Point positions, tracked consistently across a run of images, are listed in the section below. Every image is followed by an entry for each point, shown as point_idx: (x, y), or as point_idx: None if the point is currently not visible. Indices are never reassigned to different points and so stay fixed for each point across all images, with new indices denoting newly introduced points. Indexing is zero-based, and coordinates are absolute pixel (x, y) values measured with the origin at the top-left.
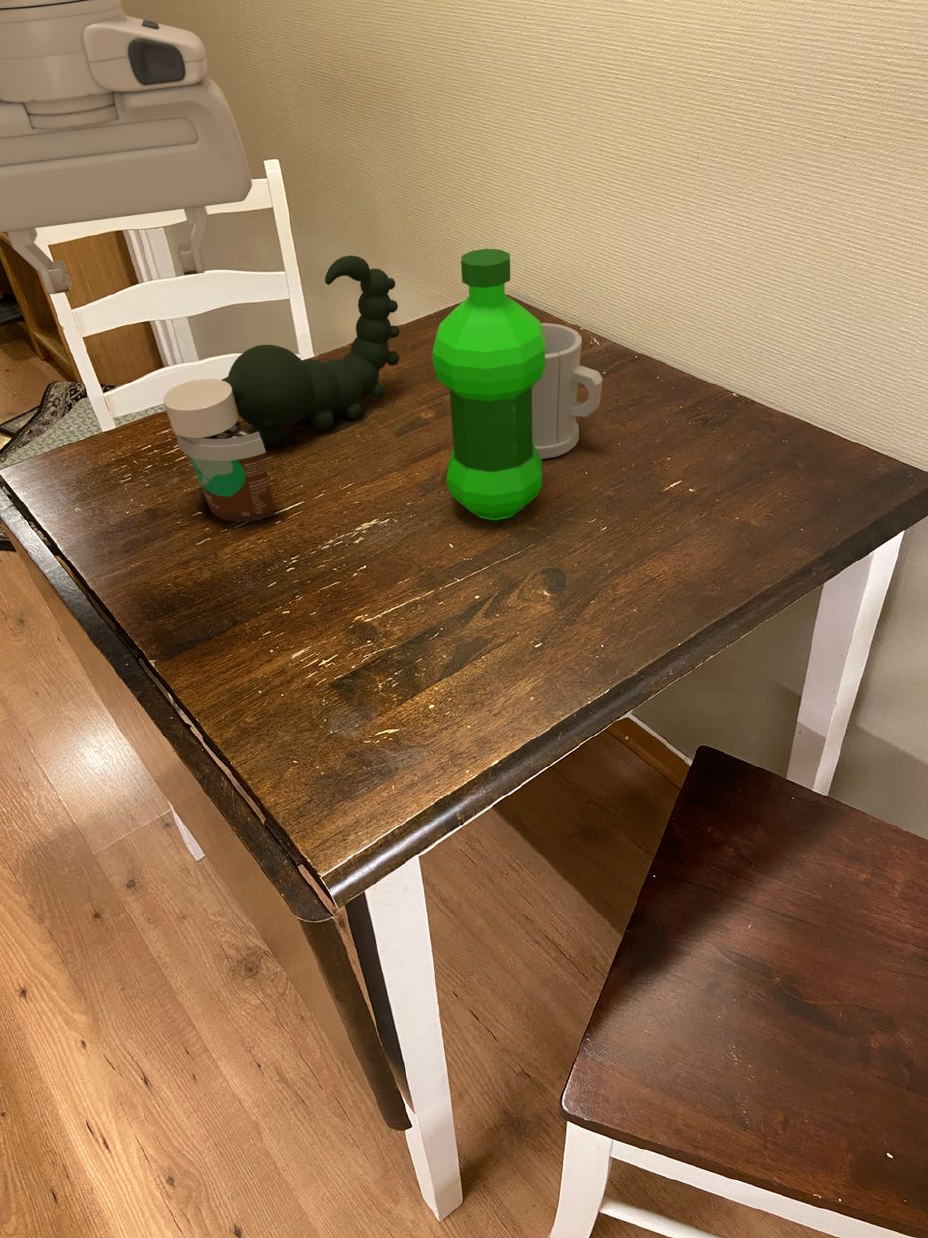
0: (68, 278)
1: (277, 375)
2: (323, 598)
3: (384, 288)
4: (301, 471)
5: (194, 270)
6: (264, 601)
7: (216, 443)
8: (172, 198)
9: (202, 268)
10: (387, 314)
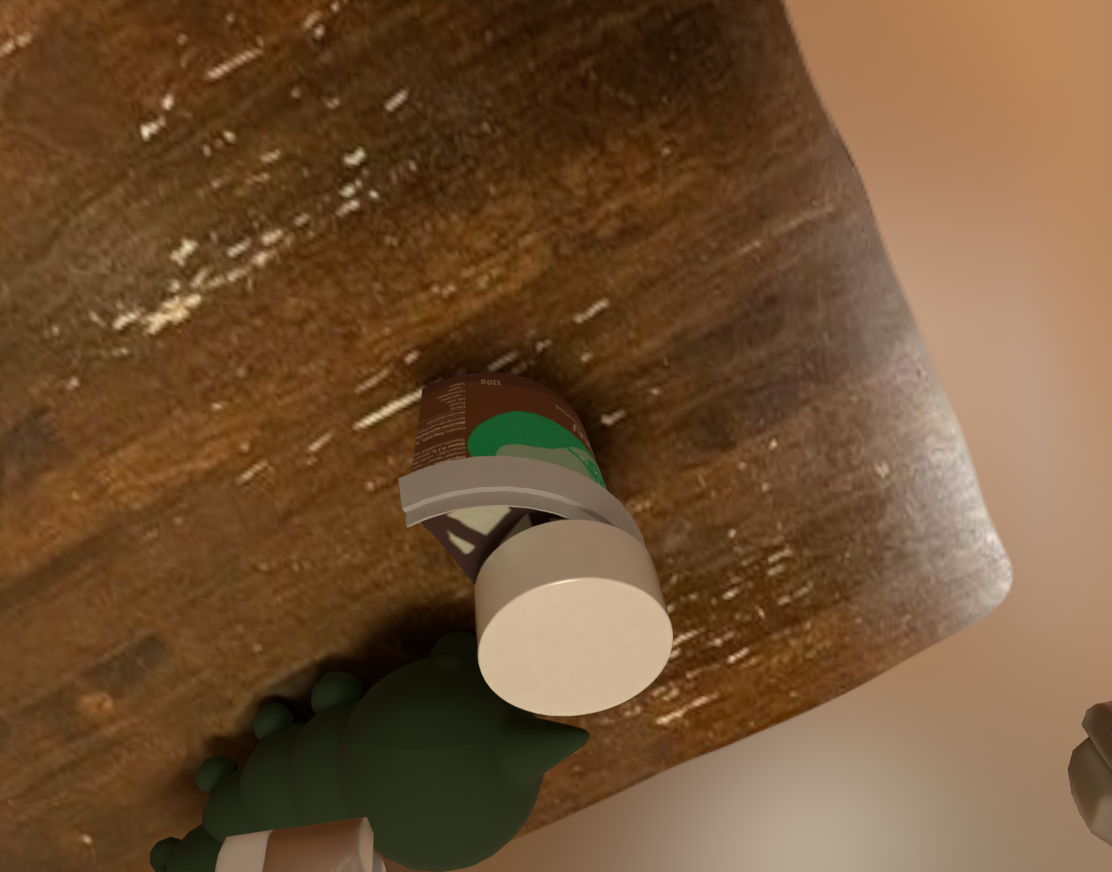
0: (1104, 800)
1: (402, 770)
2: (242, 7)
3: None
4: (377, 538)
5: (281, 840)
6: (409, 27)
7: (528, 497)
8: None
9: (222, 853)
10: None
